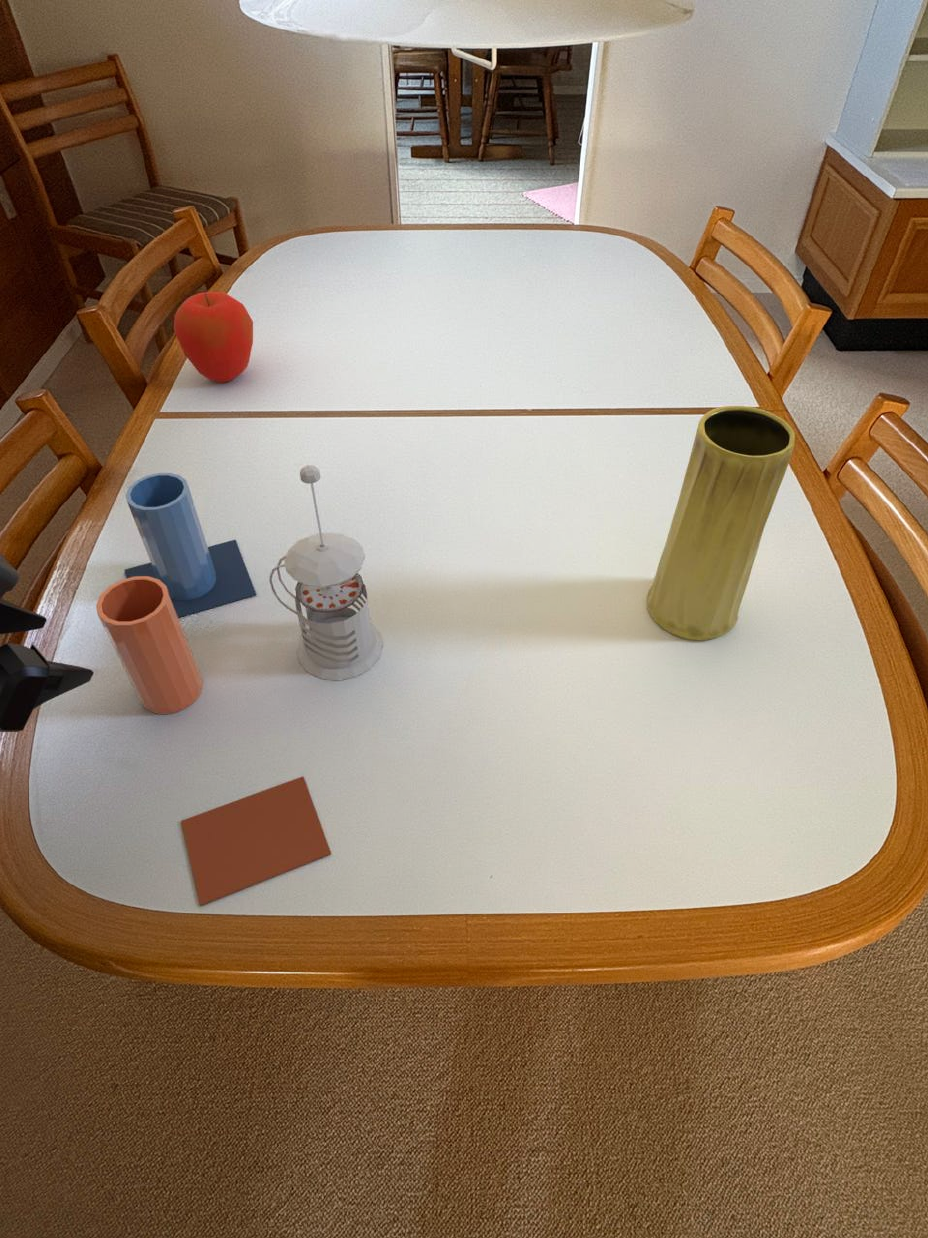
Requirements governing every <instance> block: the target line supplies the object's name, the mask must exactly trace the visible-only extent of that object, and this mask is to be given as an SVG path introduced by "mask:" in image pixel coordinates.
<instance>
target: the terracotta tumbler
mask: <svg viewBox="0 0 928 1238" xmlns="http://www.w3.org/2000/svg"><path fill="white" fill-rule="evenodd" d="M95 609H96V614H97V617H98V618H99V620H100V623H101V625H102V626H103V629H104V631H105V633H106V635H107V637H108V638H109V641H110V643H111V645H112V647H113V649H114V651H115V653H116V655H117V657H118V659H119V661H120V663H121V665H122V667H123V669H124V671H125V673H126V675H127V677H128V679H129V682H130V684H131V685H132V687H133V689H134V691H135V694H136V697H137V698H138V700H139V701H140V702H141V705H142V706H143V707H144V708H145V709H146V710H147V711H150V712H151V713H154V714H158V715H168V714H169V715H170V714H174V713H179V712H180V711H183V710H185V709H186V708H188V707H190V706H191V705H192V704H193V703H195V701H196V700H197V699H198V698H199V696H200V695H201V694H202V690H203V685H204V684H203V678H202V675H201V672H200V670H199V667H198V665H197V662H196V659H195V657H194V653H193V651H192V649H191V646H190V644H189V640H188V638H187V636H186V633H185V631H184V628H183V625H182V623H181V620H180V618H179V617H178V615H177V612H176V610H175V607H174V604H173V602H172V599H171V597H170V594H169V591H168V589H167V586H166V585H165V584H164V583H162V582H161V581H160V580H159V579H156V578H152V577H149V576H135V577H130V578H127V579H126V578H124V579H120V580H119V581H117V582H115V583H113V584H111V585H110V586H108V587H107V588H106V589H105V590H104V591H103V592H102V593H101V594H100V595H99V597H98V600H97V602H96V605H95Z"/></svg>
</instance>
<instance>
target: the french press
mask: <svg viewBox="0 0 928 1238" xmlns="http://www.w3.org/2000/svg"><path fill="white" fill-rule="evenodd" d="M299 477H300V481H301V482H302V483H304V484H309V485H310V488H311V493H312V498H313V505H314V510H315V516H316V521H317V528H318V532H319V533H315V534H310V535H309V536H306V537H304V538H301V539H299V540H297V542H296V543H294V544H293V545H292V546H291V547H290V548H289V549H288V551H287V553H286V554H285V555H283V556H282V557H281V558H280V559H279V561H278V562H277V564H276V566H275V567H274V568H272V570H271V572H270V574H269V579H268V580H269V584H270V588H271V591H272V593H273V594H274V596H275V598H276V599H277V600H278V602H279V603H280V604H281V605H282V606H283V607H284V608H286V609H287V610H288V611H290V612H292V613H293V614H295V615H297V619H298V624H299V627H300V632H301V636H300V638H299V642H298V644H297V647H296V654H297V659H298V663H299V664H300V665H301V666H302V667H303V669H304V670H305V671H306V672H307V673H308V674H310V675H312V676H314V677H316V678H319V679H320V680H329V681H336V682H337V681H343V680H349V679H353V678H356V677H358V676H360V675H362V674H363V673H365V672H367V671H369V670H371V669H372V667H373V666H374V665H375V664H376V663H377V662H378V660H379V659H380V658H381V654H382V650H383V648H384V647H383V646H384V643H383V639H382V636H381V632H380V631H379V630H378V629H377V628H376V627H375V626H374V625H373V624H372V622H371V621H372V620H371V612H370V605H369V598H368V592H367V588H366V585H365V583H364V580H363V577H362V576H361V574H359V572H360V571H361V569H362V568H363V565H364V562H365V558H366V555H365V551H364V548H363V546H362V545H361V544H360V543H359V542H358V541H357V540H356V539H355V538H353V537H351V536H349V535H346V534H344V533H339V532H328V531H327V532H322V528H321V521H320V515H319V510H318V504H317V499H316V492H315V486H314V484H315V483H317V482H319V481H320V480H321V478H322V477H321V472H320V469H319V468H318V467H317V466H316V465H312V464H307V465H305V466H303V467H302V468H301V469H300V470H299ZM283 561H284V563H283V564H282V562H283ZM280 568H284V569H285V572H286V573H287V574H288V575H289V576H290V577H291V579H292V580H294V581H296V582H297V583H296V585H295V588H294V591H295V594H293V593H292V592H291V591H289V589H288V588H287V586H286V585H285V583H284V581H283V579H282V577H281V571H280ZM275 572H277V577H278V581H279V582H280V583H281V586H282V587H283V588H284V590H285V591H286V593H287V594H288V595H290V597H292V598H293V599H294V603H295V609H293V608H292V607H290V606H289V605H287V604H286V603H285V602H283V600H282V599H281V598H280V597H279V596H278V594H277V592H276V590H275V588H274V584H273V575H274V573H275ZM360 600H361V601H360ZM355 603H357V604H358V605H359V606H360V607H359V606H358V605H357V604H355ZM301 605H302V606H303V607H304V608H305V609H304V610H305V613H306V616H304V615H303V614H304V613H303V610H302V606H301ZM351 606H352V607H354V608H355V609H356V610H357V611H356V610H355V609H353V608H351ZM306 626H308V627H306Z"/></svg>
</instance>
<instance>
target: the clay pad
mask: <svg viewBox="0 0 928 1238" xmlns="http://www.w3.org/2000/svg"><path fill="white" fill-rule="evenodd" d="M180 823H181V827H182V831H183V836H184V840H185V845H186V849H187V854H188V857H189V863H190V867H191V871H192V876H193V880H194V884H195V889H196V892H197V897H198V898H197V899H198V902H199V906H200V907H202V906H205V905H207V904H210V903H212V902H215V901H217V900H221V899H223V898H225V897H228V896H230V895H232V894H235V893H237V892H241V891H242V890H245V889H248V888H250V887H252V886H255V885H257V884H260V883H262V882H264V881H268V880H270V879H272V878H275V877H278V876H280V875H283V874H285V873H287V872H290V871H292V870H295V869H298V868H300V867H302V866H305V865H308V864H310V863H313V862H314V861H318V860H320V859H323V858H325V857H328V856H330V855H332V852H331V849H330V847H329V844H328V841H327V837H326V835H325V832H324V830H323V827H322V824H321V821H320V818H319V816H318V813H317V810H316V808H315V804H314V802H313V799H312V795H311V793H310V791H309V789H308V785H307V782H306V780H305V776H304V775H302V776H300V777H297V778H293V779H292V780H288V781H286V782H283V783H281V784H277V785H275V786H273V787H270V788H267V789H264V790H262V791H259V792H256V793H253V794H251V795H247V796H246V797H242V798H240V799H237V800H234V801H231V802H229V803H226V804H224V805H221V806H217V807H215V808H212V809H209V810H207V811H204V812H201V813H198V814H196V815H194V816H190V817H188V818H185V819H181V821H180Z"/></svg>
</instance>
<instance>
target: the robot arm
mask: <svg viewBox="0 0 928 1238" xmlns="http://www.w3.org/2000/svg"><path fill="white" fill-rule="evenodd" d="M19 580H20V574H19V572H18V571H17V569H16V568H14V567H13V566H12V565H11V564H10V563H9V561H8V560H7V559H6V558H5V556H4V555H3V554H2V553H0V635H6V634H14V633H22V632H29V631H35V630H41V629H43V628H44V627H45V625H46V623H47V621H48V620H47V618H46V617H45V616H44V615H42V614H40V613H37V612H34V611H33V610H32V611H31V610H29V609H27V608H24V607H23V606H21V605H17V604H15V603H13V602H10V601H8V600H6V599H3V598H2V597H3V596H4V595H6V593H8V592H11V591H12V590H13V589H14V588H15V587H16V585H17V584H18V582H19ZM93 676H94V671H93V670H92V669H91V668H87V667H82V666H79V665H73V664H67V663H62V662H57V661H50V660H48V659H46V657H45V656H44V655H43V654H42V652H41V651H40V650H39V649H38V648H37V647H36V645H34V644H31V645H30V647H28V646H25V645H23V644H21V643H10V642H7V643H5V644H2V645H1V646H0V733H19V732H23V731H24V729H25V727H26V725H27V723H28V721H29V720H30V717H31V715H32V712H33V710H35V709H36V708H38V707H40V706H42V705H43V704H45V703H48V701H51V700H53V699H55V698H57V697H59V696H61V695H63V694H66V693H68V692H70V691H72V690H74V689H77V688H78V687H81V686H82V685H85V684H87V683H89V682H90V681H91V680H92V677H93Z"/></svg>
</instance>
